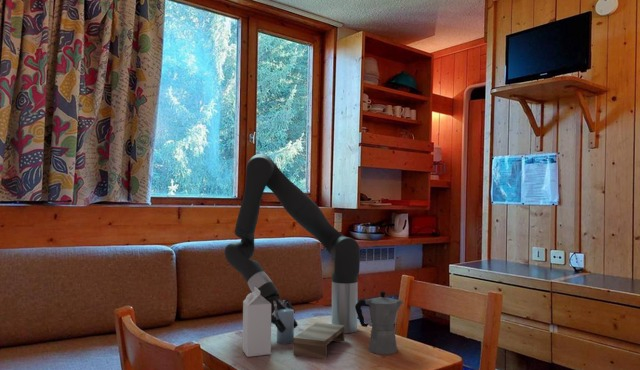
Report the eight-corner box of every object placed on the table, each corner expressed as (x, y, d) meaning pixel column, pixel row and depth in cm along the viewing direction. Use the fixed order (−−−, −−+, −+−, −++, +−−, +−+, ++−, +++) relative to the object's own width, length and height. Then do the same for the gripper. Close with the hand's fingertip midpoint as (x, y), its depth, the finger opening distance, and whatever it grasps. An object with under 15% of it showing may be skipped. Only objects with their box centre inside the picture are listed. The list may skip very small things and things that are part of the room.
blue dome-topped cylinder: (281, 338, 154) (281, 308, 154) (296, 339, 152) (296, 309, 152) (274, 342, 149) (274, 311, 149) (289, 344, 147) (289, 312, 147)
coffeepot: (397, 344, 147) (397, 288, 148) (408, 353, 138) (408, 293, 139) (351, 347, 144) (351, 289, 145) (359, 356, 135) (359, 294, 136)
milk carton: (265, 348, 143) (265, 286, 144) (270, 354, 136) (271, 290, 137) (242, 350, 140) (243, 287, 141) (247, 357, 134) (248, 291, 135)
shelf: (316, 337, 154) (316, 322, 155) (344, 340, 151) (344, 325, 151) (293, 354, 137) (293, 337, 137) (324, 358, 133) (325, 341, 133)
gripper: (254, 283, 150) (281, 326, 142) (282, 278, 161) (309, 317, 154) (242, 298, 152) (268, 341, 145) (271, 292, 164) (297, 331, 157)
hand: (289, 328), depth 149 cm, fingers closed on blue dome-topped cylinder, 5 cm apart
